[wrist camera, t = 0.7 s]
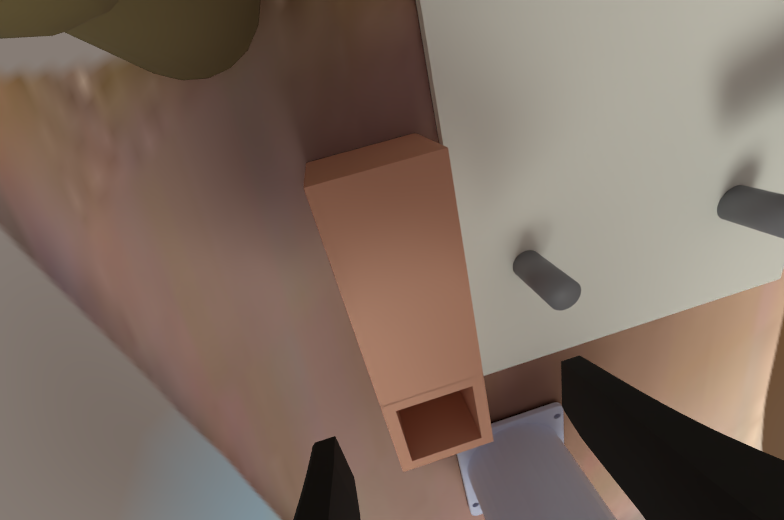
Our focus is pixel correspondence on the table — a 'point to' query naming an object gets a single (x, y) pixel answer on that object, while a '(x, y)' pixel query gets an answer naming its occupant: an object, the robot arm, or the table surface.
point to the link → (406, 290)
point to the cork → (145, 30)
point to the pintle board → (607, 159)
